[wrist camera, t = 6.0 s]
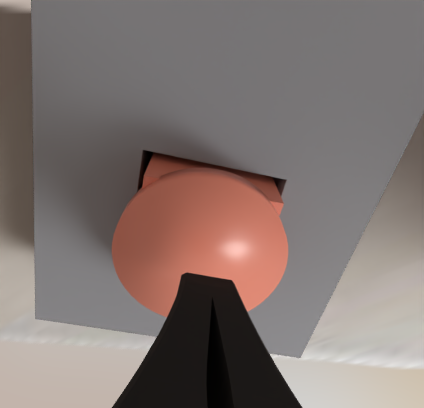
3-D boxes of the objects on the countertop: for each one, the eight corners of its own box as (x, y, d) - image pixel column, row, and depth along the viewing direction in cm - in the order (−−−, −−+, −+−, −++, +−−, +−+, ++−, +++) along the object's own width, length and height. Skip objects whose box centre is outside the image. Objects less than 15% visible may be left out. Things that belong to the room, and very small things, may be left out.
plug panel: (574, -393, 9) (819, -673, 5) (283, 297, 20) (300, 357, 16) (106, -604, 8) (16, -1175, 4) (68, 262, 18) (35, 318, 15)
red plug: (282, 147, 14) (314, 199, 10) (246, 255, 17) (259, 333, 12) (148, 118, 14) (121, 159, 9) (131, 234, 16) (104, 309, 12)
